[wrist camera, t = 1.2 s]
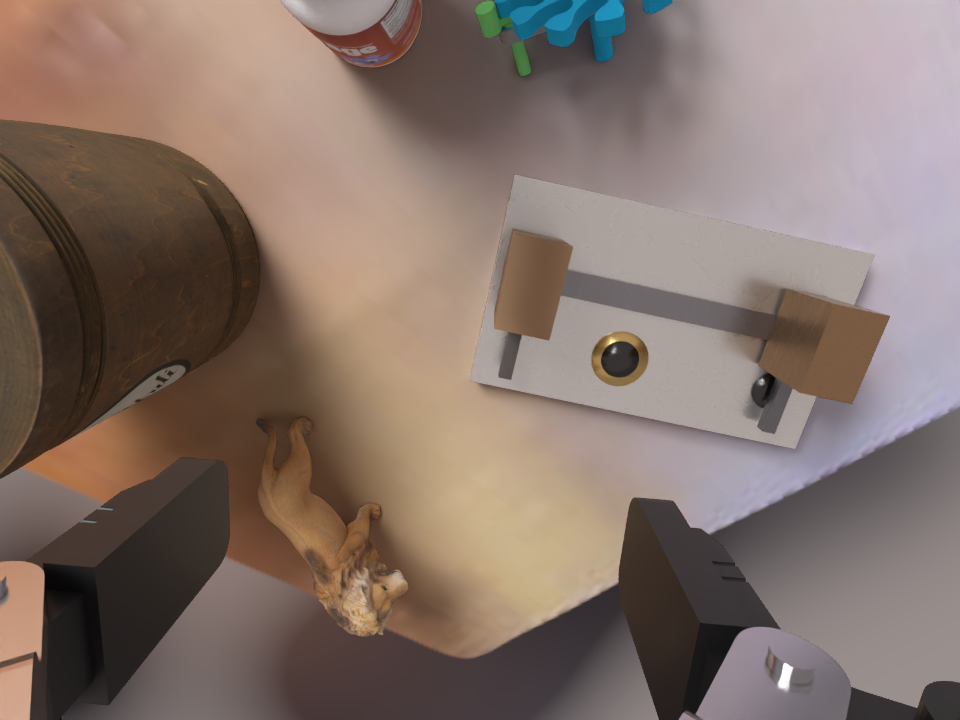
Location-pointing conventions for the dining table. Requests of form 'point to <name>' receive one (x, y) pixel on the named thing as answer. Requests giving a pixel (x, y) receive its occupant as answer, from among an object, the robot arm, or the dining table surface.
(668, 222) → the plate
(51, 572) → the robot arm
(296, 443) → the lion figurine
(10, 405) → the wooden container
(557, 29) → the gear
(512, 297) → the sliding block
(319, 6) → the pill bottle
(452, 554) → the dining table surface
